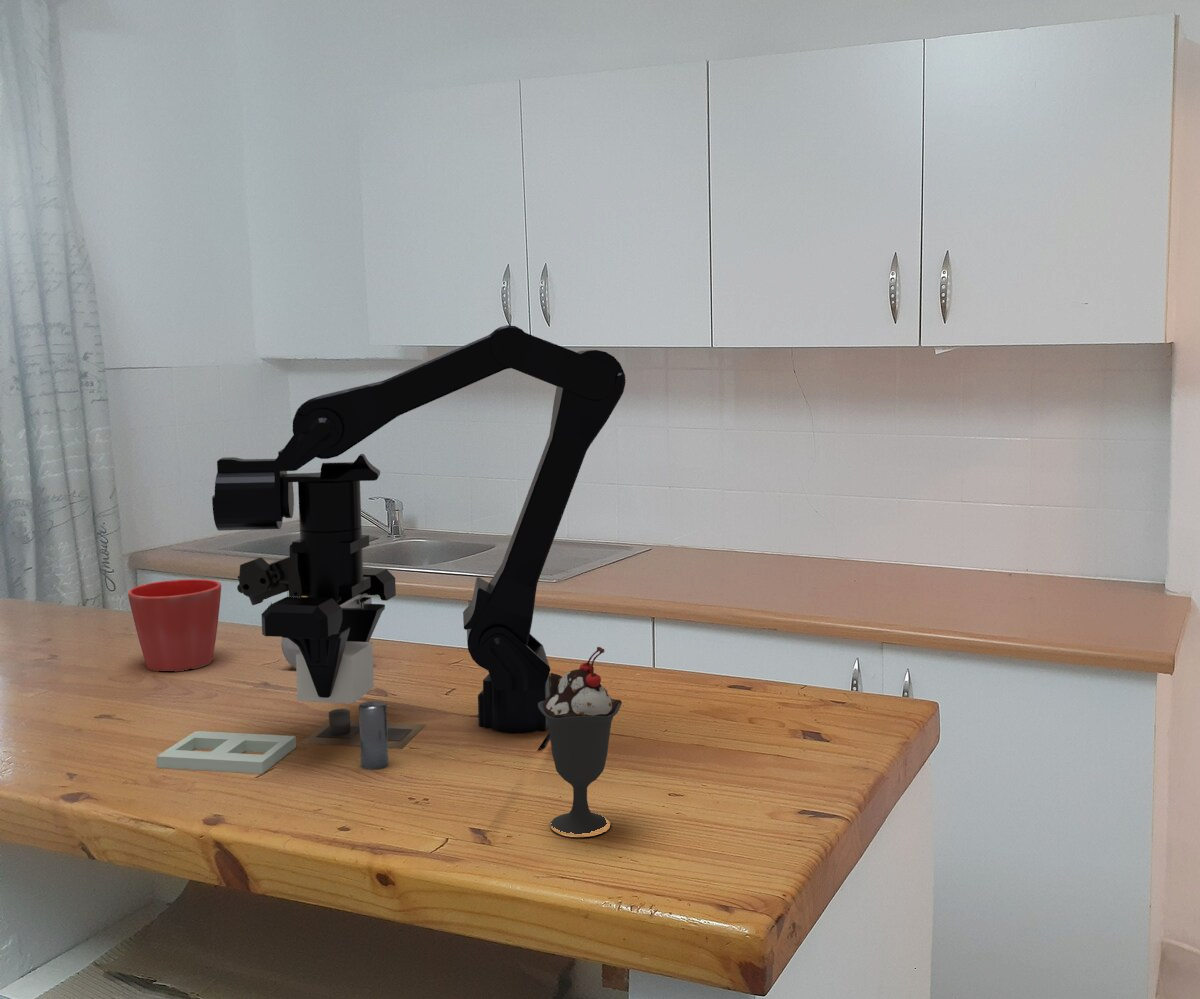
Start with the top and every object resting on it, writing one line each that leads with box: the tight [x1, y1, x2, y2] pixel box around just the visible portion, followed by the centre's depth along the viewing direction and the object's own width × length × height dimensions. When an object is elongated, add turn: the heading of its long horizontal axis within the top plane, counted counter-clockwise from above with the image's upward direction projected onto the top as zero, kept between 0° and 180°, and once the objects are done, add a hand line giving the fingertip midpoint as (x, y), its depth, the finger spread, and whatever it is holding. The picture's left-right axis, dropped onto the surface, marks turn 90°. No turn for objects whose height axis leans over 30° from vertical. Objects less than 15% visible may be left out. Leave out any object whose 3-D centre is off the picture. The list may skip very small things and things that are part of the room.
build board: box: [155, 730, 297, 775], centre depth 106 cm, size 10×7×2 cm
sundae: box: [538, 646, 623, 834], centre depth 93 cm, size 7×7×15 cm
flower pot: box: [127, 578, 222, 672], centre depth 143 cm, size 11×11×10 cm
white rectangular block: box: [295, 641, 375, 704], centre depth 112 cm, size 6×6×4 cm
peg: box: [358, 700, 389, 771], centre depth 104 cm, size 2×2×7 cm
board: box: [300, 708, 427, 750], centre depth 112 cm, size 10×7×4 cm
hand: (336, 688), depth 112 cm, fingers closed on white rectangular block, 5 cm apart
